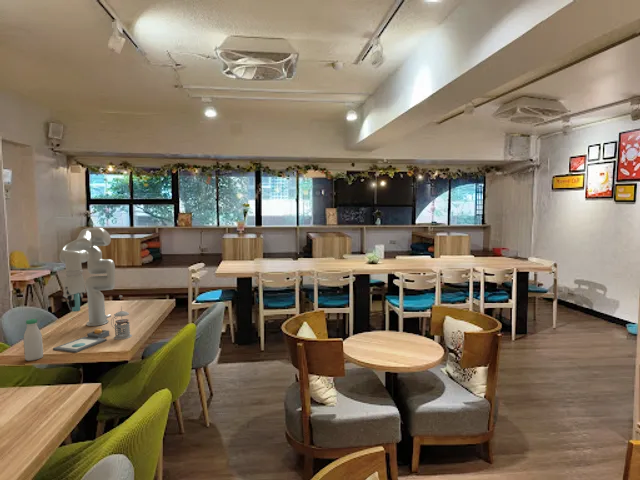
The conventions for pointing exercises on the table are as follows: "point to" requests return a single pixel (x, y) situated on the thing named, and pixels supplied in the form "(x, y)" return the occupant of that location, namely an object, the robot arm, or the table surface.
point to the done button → (97, 331)
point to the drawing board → (79, 344)
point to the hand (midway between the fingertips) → (75, 305)
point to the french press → (121, 326)
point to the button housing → (100, 335)
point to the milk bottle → (33, 341)
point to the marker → (76, 303)
